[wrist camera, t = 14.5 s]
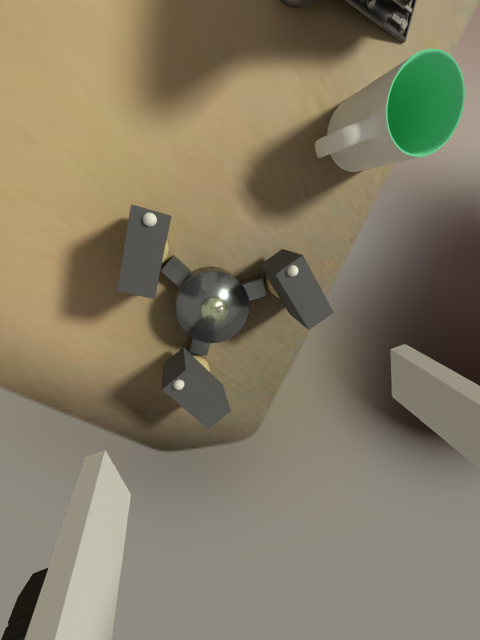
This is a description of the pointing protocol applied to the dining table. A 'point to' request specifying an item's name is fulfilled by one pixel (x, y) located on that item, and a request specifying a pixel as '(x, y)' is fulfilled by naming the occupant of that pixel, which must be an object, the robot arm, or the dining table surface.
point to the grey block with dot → (143, 252)
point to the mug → (397, 114)
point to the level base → (210, 302)
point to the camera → (379, 13)
